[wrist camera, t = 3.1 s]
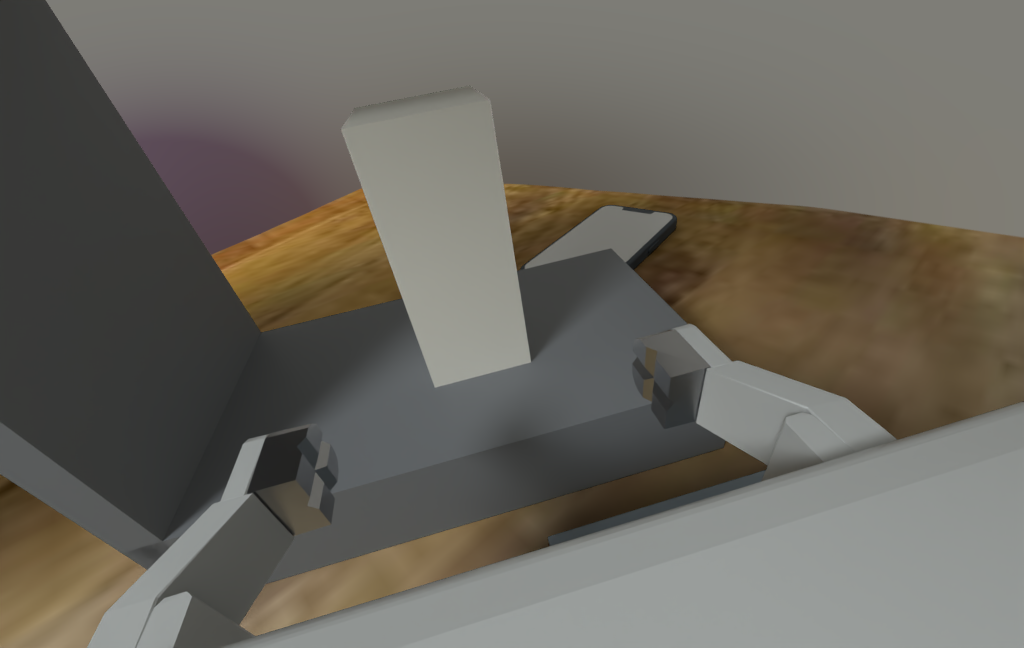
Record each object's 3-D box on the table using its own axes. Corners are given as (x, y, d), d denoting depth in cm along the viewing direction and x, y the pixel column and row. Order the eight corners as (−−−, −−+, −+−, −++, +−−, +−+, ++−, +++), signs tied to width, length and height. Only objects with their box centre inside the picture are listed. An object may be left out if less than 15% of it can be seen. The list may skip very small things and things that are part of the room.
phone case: (598, 311, 33) (681, 228, 42) (597, 295, 32) (682, 213, 41) (515, 284, 38) (604, 216, 47) (512, 270, 37) (604, 202, 46)
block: (435, 387, 20) (340, 128, 13) (429, 330, 24) (354, 108, 17) (531, 362, 21) (490, 99, 14) (510, 310, 25) (469, 85, 18)
